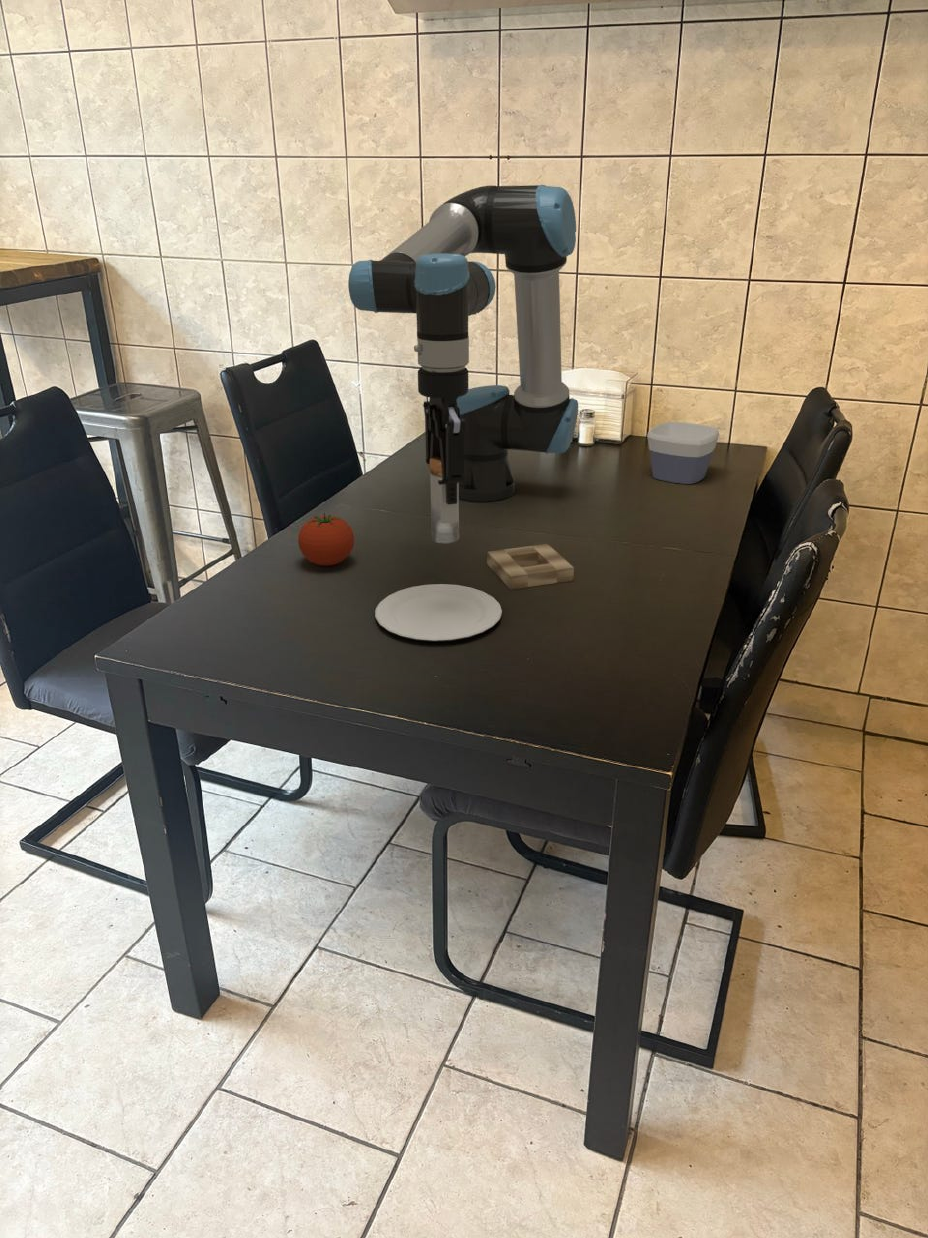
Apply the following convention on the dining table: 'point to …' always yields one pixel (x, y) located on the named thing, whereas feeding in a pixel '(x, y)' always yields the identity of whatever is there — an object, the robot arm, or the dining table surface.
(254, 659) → the dining table surface
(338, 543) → the tomato
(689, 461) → the bowl
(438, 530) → the clear jar
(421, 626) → the plate
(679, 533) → the dining table surface
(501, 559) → the socket block
